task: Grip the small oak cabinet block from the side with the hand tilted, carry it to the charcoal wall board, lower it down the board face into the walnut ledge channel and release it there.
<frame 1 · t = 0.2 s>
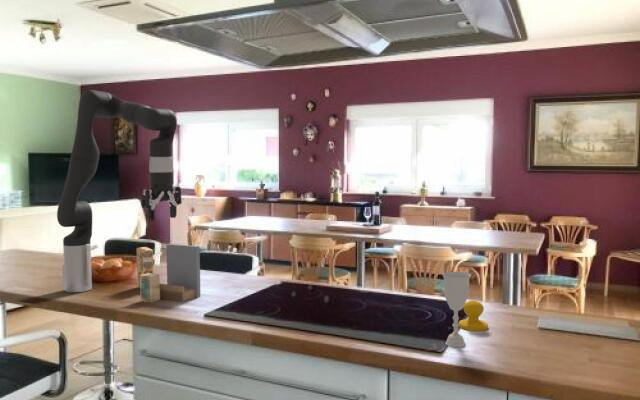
hand: (162, 219, 175), 29 cm above the counter, tool pointing down, fingers open, 8 cm apart
cleat board: (176, 297, 186), on the counter
cabinet block: (150, 300, 182), on the counter
chalice: (455, 344, 136), on the counter
doorknob: (473, 327, 150), on the counter
candy box: (145, 289, 200), on the counter
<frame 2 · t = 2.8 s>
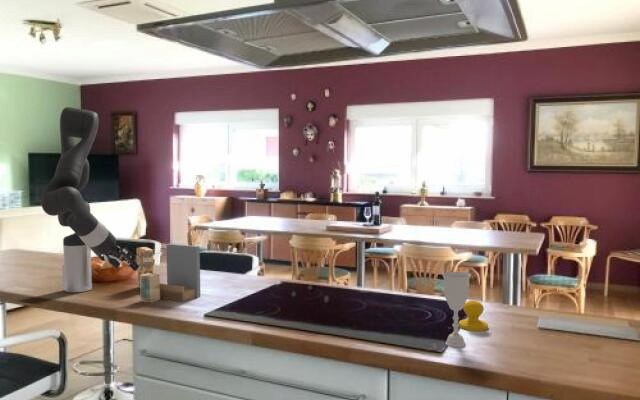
hand: (127, 267, 172), 13 cm above the counter, tool tilted 45°, fingers open, 8 cm apart
nothing on the counter moved.
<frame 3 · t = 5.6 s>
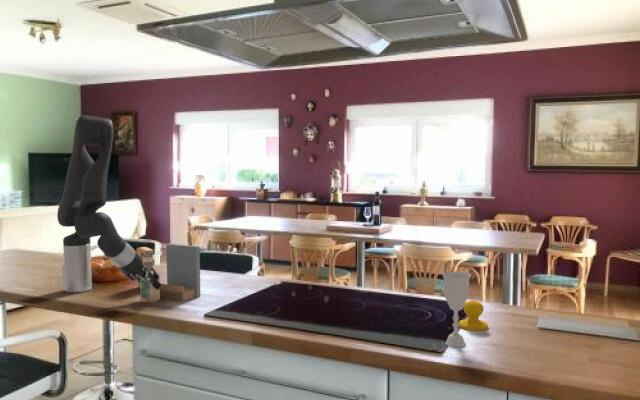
hand: (152, 286, 183), 5 cm above the counter, tool tilted 45°, fingers closed on cabinet block, 5 cm apart
cabinet block: (150, 300, 182), on the counter, touching gripper
everything else where it was.
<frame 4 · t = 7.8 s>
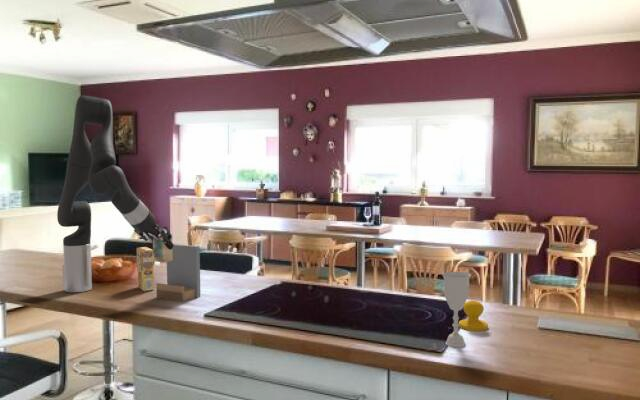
hand: (165, 246, 183), 18 cm above the counter, tool tilted 45°, fingers closed on cabinet block, 5 cm apart
cabinet block: (163, 260, 182), point 13 cm above the counter, touching gripper
everything else where it was.
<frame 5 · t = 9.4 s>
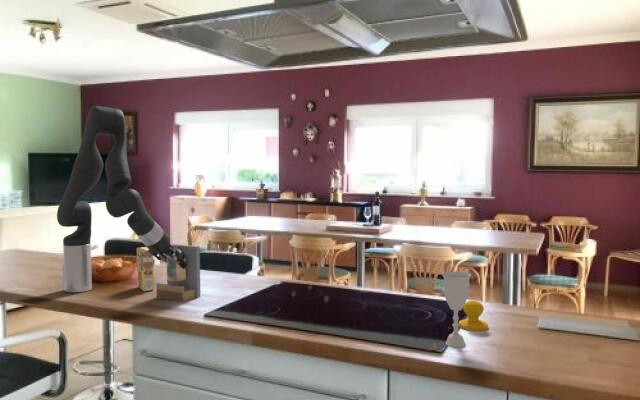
hand: (178, 266, 186), 11 cm above the counter, tool tilted 45°, fingers closed on cabinet block, 5 cm apart
cabinet block: (176, 279, 185), point 6 cm above the counter, touching gripper
everything else where it was.
when the fingers open (9 cm above the counter, at t = 10.3 s): cabinet block stays where it is, resting on cleat board.
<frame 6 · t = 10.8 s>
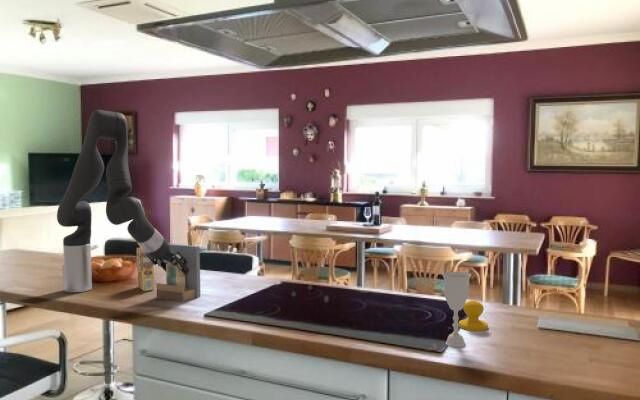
hand: (177, 271, 186), 9 cm above the counter, tool tilted 45°, fingers open, 8 cm apart
cabinet block: (176, 288, 186), point 3 cm above the counter, touching cleat board
everything else where it was.
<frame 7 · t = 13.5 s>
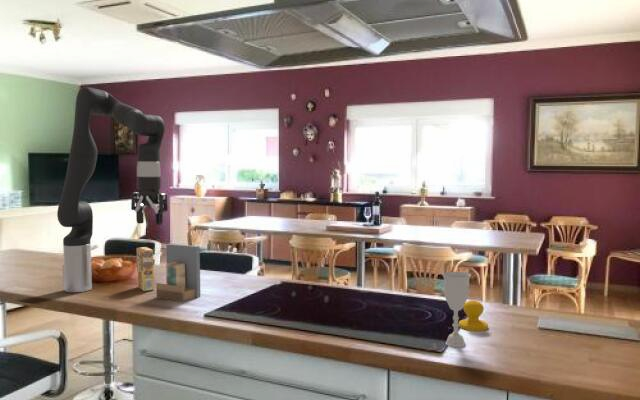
hand: (149, 224, 176), 27 cm above the counter, tool pointing down, fingers open, 8 cm apart
nothing on the counter moved.
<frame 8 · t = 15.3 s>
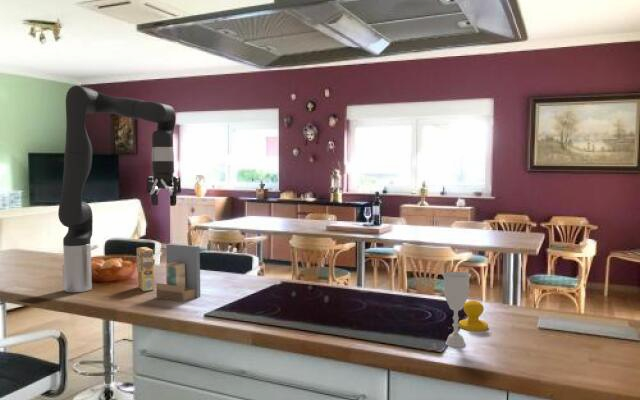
hand: (163, 205, 189), 32 cm above the counter, tool pointing down, fingers open, 8 cm apart
nothing on the counter moved.
at the end: cabinet block inside the target area (0.1 cm from its centre), point 3.0 cm above the counter; cabinet block tilted 0°; the gripper is holding nothing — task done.
